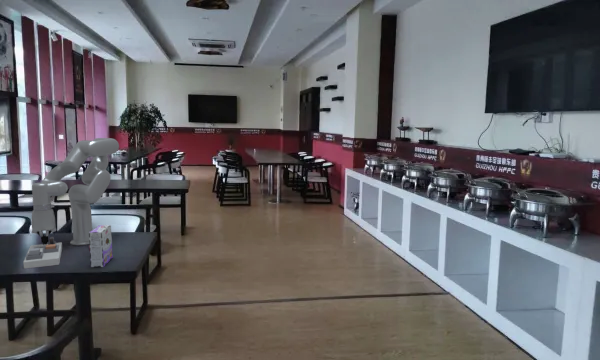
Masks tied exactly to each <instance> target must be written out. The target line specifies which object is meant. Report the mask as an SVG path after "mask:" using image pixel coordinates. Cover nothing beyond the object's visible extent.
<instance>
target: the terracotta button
mask: <svg viewBox="0 0 600 360" xmlns="http://www.w3.org/2000/svg"><path fill="white" fill-rule="evenodd" d="M54 248H56V244H51V245H46V249H54Z"/></svg>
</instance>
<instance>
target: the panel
mask: <svg viewBox="0 0 600 360" xmlns="http://www.w3.org/2000/svg"><path fill="white" fill-rule="evenodd" d="M46 245H48V243H47V244H44V245H43V243H42V244H41V243H40V244H33V245H32V244H31V245H30V246H29V248H28V251H27V253H26V254H25V257H24V260H23V262H22V263H23V270H25V269H33V268H41V267H43V268H44V267H52V266H58V265H60V261H61V257H62V250H63V243H62V242H56V248H54V249H46ZM32 248H40V254H39V255H35V256H29V249H32Z"/></svg>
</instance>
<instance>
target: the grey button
mask: <svg viewBox="0 0 600 360" xmlns="http://www.w3.org/2000/svg"><path fill="white" fill-rule="evenodd" d="M28 250H29V256H35V255H39V254H40V248H32V249H29V248H28Z"/></svg>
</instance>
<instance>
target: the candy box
mask: <svg viewBox="0 0 600 360" xmlns="http://www.w3.org/2000/svg"><path fill="white" fill-rule="evenodd" d="M89 245H90V251H89V255H90V256H89V257H90V258H89V261H90V268H105V266H106V265H107V264H108V263H109V262H110V261H111V260H112V259H113V258H114V257H113V256H114V255H113V254H114V253H113V238H112V225H111V224H105V225H104V224H101V225H98V226H96V227H94V229H93V228H92V231H90V232H89V244H88V246H89Z"/></svg>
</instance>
